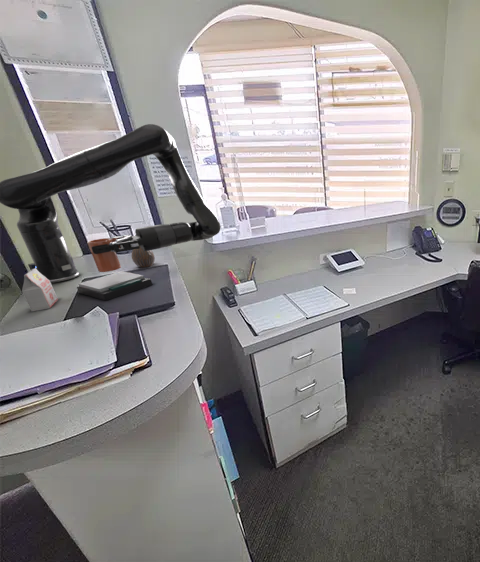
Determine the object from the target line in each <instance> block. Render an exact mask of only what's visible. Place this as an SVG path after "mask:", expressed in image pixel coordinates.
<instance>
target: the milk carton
mask: <svg viewBox="0 0 480 562" xmlns="http://www.w3.org/2000/svg"><path fill="white" fill-rule="evenodd" d="M23 277H24V278H23V285H22V289H21V293H22V294H23V296H24V298H25V301H26V303H27V304H28V307H29V309H30V311H31V312H37V311H41V310H47V309H51V308H52V307H53V306H54V305H55V304H56V302H57V301H59V297H58V296H57V294H56V291H55V289H54V286H53V285H52V283H51V282H50V280H48V279H47V278H46V277H45V276H43V275H42V274H41V273H40V272H39V271H38V270H37V269H36V268H35V269H32V270H30V271H27V273H24V275H23Z"/></svg>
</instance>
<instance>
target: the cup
mask: <svg viewBox="0 0 480 562" xmlns="http://www.w3.org/2000/svg"><path fill="white" fill-rule="evenodd" d="M111 238H112V237H107V238H106V237H105V238H96V239H92V240H91V239H90V240H88V241H87V242H86V244H88V245H87V247H88V246H89V248H90V250H89V251H90V253H91V256H92V258H93V261H94V263H95V266H96V268H97V270H98V272H99V273H108V272H113V271H116V270H119V269H121V268H122V265H121V263H120V259H119V257H118V255H117V252H111V251H110V252H105V253H100V254H94V253H93V251H92V247H93V246H98V245H104V244H109V243H113V242H112V241H111ZM89 248H88V249H89Z"/></svg>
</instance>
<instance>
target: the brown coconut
mask: <svg viewBox="0 0 480 562" xmlns="http://www.w3.org/2000/svg"><path fill="white" fill-rule="evenodd" d="M139 247H140V246H139ZM130 257H131V260H132V262H133V263H134V264H135V265H136V266H137V267H139V268H147V267H152V265H154V263H155V259H156V258H155V257H156V256H155V254H154V252H153V250H149V251H144V250H142V249H141V247H140V248H139V249H133V250H131V255H130Z"/></svg>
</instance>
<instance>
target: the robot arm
mask: <svg viewBox="0 0 480 562" xmlns="http://www.w3.org/2000/svg"><path fill="white" fill-rule="evenodd" d="M152 155H153V156H154V157H155V158H156V159H157V161H158V162H159V164H161V166H162V167H163V169H164V171H165V172H166V174H167V176H168V177H169V180H170V182H171V186H172V187H173V188H172V189H173V190H174V193H175V195H176V197H177V199H178V201H179V202H180V204H181V205H182V207H183V209H184V210H185V212H186V214H188V215H190V216H192V217H193V218H194V219H195V221H192V222H184V221H180V222H173V223H172V222H171V223H164V224H155V225H149V226H148V225H147V226H142V227H137V228H135V230H134V234H135V235H130V234H123V235H119V236H113V237H110V238H111V241H112V243H109V244H104V245H98V246H93V247H92V251H93V253H94V254H100V253H105V252H110V251H111V252H116V253H122V252H127V251H133V249H139V248H140V247H141V249H142V250H144V251H149V250H152V251H153V250H154V251H155V250H159V249H164V248H168V247H171V246H175V245H179V244H184V243H188V242H195V241H202V240H209V239H211V238H213V237H214V236H215V237H216V236H217V235H218V234H219V233H220V231H221V222H220V220H219V219H218V217H217V216H216V214H214V212H213V210H212V209H211V208H210V207H209V206H208V205H207V204H206V202H205V200H204V199H203V197H202V195H201V193H200V191H199V189H198V188H197V186H196V184H195V183H194V181H193V179H192V177H191V176H190V174H189V172H188V170H187V168H186V167H185V164H184V163H183V160H182V157H181V155H180V152H179V149H178V147H177V143H176V140H175V139H174V137H173V136H172V135H171V133H169V132H168V131H167V130H166V129H164V127H162V126H160V125H158V124H155V123H154V124H153V123H147V124H144V125H141V126H139V127H138V128H135V129H134V130H131V131H130V132H128V133H126V134H124V135H122V136H120V137H118V138H116V139H113V140H110V141H107V142H104V143H101V144H99V145H95V146H93V147H90V148H87V149H84V150H82V151H79V152H76V153H74V154H72V155H69V156H67V157H65V158H63V159H60V160H58V161H56V162H53V163H52V164H49V165H48V166H46V167H43V168H40V169H38V170H36V171H32V172H29V173H25V174H22V175H18V176H15V177H10V178H5V179H3V180H1V181H0V204H1V205H3V206H5V207H7V208H11V209H14V210H17V211H18V214H19V218H18V221H17V222H16V227H17V230H18V231H19V233H20V236H21V238H22V240H23V242H24V244H25V246H26V249H27V251H28V253H29V255H30V257H31V259H32V263H28V264H27V266H28V268H29V270H30V271H31V270H32V269H35V268H36V269H37V270H38V271H39V272H40V273H41V274H42V275H43V276H45V277H46V278H47V279H48V280H50V282H51V284H54V283H61V282H66V281H69V280H73V279H75V278H77V277H79V276H80V273H79V271H78V269H77V266H76V263H75V261H74V259H73V256H72V255H71V251H70V249H69V246H68V244H67V242H66V240H65V237H64V234H63V232H62V230H61V228H60V225H59V216H58V212H57V209H56V206H55V203H54V201H53V198H52V197H53V196H55V195H57V194H61V193H63V192H67V191H71V190H76V189H81V188H83V187H87V186H90V185H94V184H97V183H99V182H102V181H104V180H107V179H109V178H111V177H114V176H115V175H116V174H118V173H119V172H121V171H122V170H123V169H124V168H125V167H126V166H127V165H129V164H131V163H132V162H134V161H136V160H139V159H141V158H146V157H148V156H152ZM86 244H87V248H88V250H89V251H90V248H89V246H88V243H86ZM139 246H140V247H139Z"/></svg>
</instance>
